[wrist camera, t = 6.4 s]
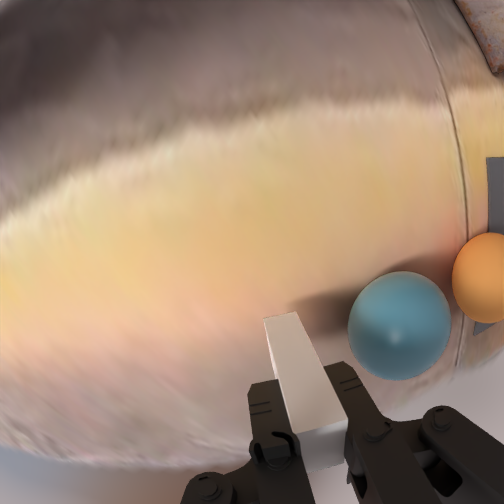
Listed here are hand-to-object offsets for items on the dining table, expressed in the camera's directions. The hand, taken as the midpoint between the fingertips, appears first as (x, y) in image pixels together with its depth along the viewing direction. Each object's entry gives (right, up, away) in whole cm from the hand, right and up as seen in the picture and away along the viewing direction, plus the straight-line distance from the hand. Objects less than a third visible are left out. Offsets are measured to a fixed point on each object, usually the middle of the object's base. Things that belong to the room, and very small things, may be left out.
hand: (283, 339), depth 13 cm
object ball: (+13, +2, 0) cm, 13 cm away
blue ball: (+6, 0, 0) cm, 6 cm away
